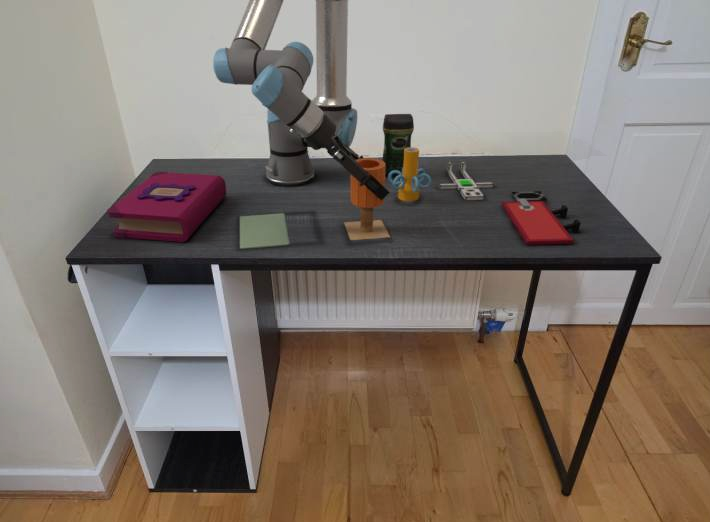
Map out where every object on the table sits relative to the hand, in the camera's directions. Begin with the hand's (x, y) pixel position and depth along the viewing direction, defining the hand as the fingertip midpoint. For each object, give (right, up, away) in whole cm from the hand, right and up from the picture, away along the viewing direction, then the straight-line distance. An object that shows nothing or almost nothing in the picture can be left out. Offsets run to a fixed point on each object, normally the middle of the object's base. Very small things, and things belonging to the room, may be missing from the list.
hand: (381, 188), depth 127 cm
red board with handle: (+43, -6, +13) cm, 45 cm away
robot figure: (+28, +7, +32) cm, 43 cm away
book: (-56, -5, +16) cm, 58 cm away
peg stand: (-3, -10, +6) cm, 12 cm away
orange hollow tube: (-3, -3, +1) cm, 5 cm away
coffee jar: (+8, +13, +41) cm, 44 cm away
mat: (-26, -9, +8) cm, 29 cm away
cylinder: (+10, +1, +23) cm, 25 cm away
